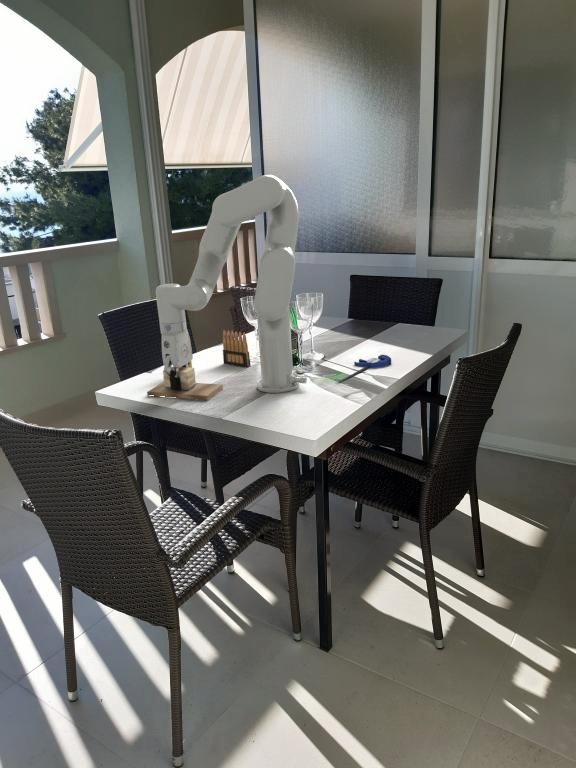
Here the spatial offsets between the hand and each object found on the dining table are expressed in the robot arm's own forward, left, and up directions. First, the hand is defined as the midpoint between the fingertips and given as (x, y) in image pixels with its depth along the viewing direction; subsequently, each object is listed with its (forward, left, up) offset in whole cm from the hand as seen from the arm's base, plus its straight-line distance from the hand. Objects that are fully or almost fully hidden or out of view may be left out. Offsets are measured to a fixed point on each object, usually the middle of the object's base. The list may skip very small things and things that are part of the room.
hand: (180, 386), depth 182 cm
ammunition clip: (-5, -29, -2) cm, 30 cm away
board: (-1, 0, -2) cm, 2 cm away
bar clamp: (-47, -26, -3) cm, 54 cm away
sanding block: (0, 0, 0) cm, 0 cm away
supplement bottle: (+8, -16, -2) cm, 18 cm away
